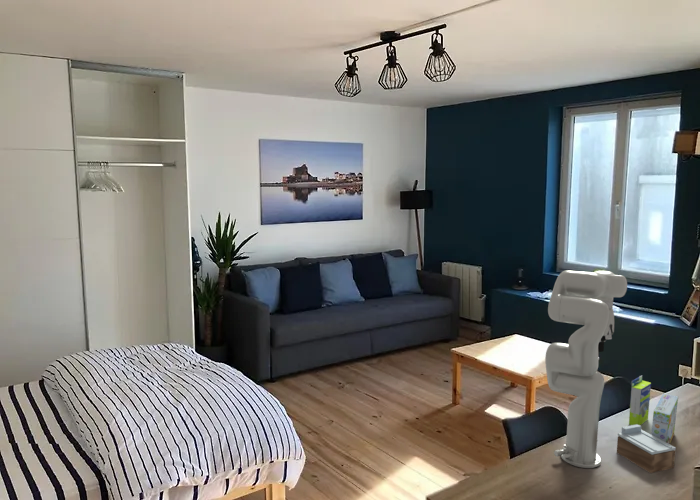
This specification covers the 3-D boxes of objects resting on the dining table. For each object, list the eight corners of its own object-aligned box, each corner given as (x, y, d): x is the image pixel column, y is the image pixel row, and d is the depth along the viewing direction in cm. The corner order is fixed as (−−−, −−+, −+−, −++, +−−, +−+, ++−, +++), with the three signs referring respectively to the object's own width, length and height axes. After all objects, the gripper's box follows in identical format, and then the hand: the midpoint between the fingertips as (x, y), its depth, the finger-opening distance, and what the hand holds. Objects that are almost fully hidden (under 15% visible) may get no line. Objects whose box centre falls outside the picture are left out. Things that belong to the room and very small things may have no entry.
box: (638, 427, 210) (642, 384, 208) (627, 424, 213) (630, 381, 211) (649, 419, 217) (652, 377, 215) (638, 416, 220) (641, 374, 218)
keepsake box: (650, 473, 178) (651, 455, 177) (616, 452, 191) (617, 436, 190) (673, 468, 181) (675, 450, 181) (639, 448, 194) (640, 432, 194)
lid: (651, 454, 177) (652, 446, 177) (617, 435, 190) (618, 427, 190) (675, 449, 181) (676, 441, 180) (640, 431, 194) (640, 423, 193)
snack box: (666, 457, 189) (670, 415, 187) (648, 452, 192) (651, 410, 190) (675, 434, 205) (679, 395, 203) (658, 430, 209) (661, 391, 207)
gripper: (579, 300, 213) (576, 346, 215) (609, 309, 199) (605, 358, 201) (594, 299, 215) (592, 344, 218) (625, 307, 201) (621, 356, 204)
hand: (598, 351), depth 209 cm, fingers closed
